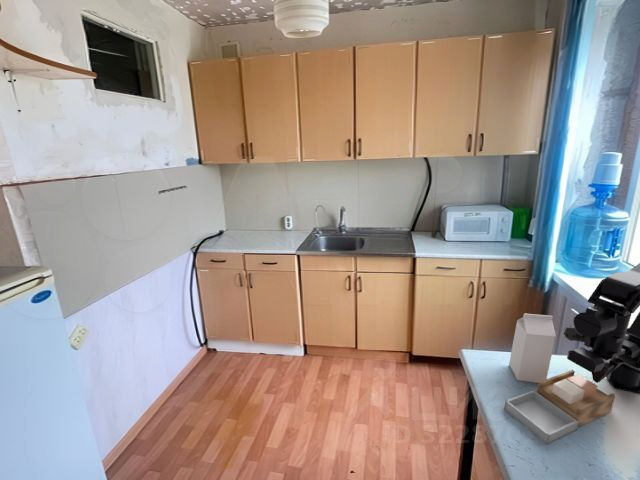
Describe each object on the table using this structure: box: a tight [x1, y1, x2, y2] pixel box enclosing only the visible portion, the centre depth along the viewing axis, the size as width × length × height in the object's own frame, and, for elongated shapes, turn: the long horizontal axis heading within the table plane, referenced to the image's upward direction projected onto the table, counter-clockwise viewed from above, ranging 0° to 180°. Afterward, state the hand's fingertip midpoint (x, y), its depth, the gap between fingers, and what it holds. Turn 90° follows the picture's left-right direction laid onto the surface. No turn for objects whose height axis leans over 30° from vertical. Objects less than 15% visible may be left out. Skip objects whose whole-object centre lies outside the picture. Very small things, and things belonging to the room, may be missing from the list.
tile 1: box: [552, 379, 585, 404], centre depth 82 cm, size 4×4×2 cm
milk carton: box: [508, 313, 557, 384], centre depth 93 cm, size 7×7×19 cm
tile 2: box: [567, 374, 598, 399], centre depth 84 cm, size 4×4×2 cm
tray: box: [503, 390, 579, 445], centre depth 80 cm, size 10×11×2 cm
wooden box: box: [536, 369, 616, 428], centre depth 84 cm, size 13×10×5 cm
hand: (596, 381), depth 86 cm, fingers closed
